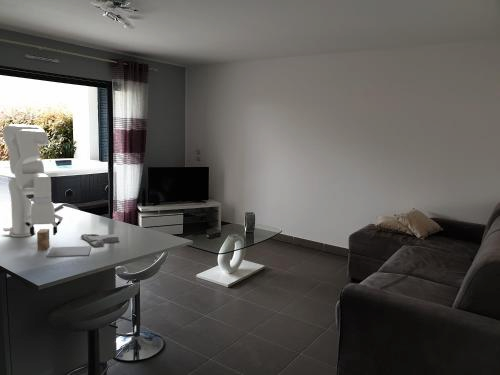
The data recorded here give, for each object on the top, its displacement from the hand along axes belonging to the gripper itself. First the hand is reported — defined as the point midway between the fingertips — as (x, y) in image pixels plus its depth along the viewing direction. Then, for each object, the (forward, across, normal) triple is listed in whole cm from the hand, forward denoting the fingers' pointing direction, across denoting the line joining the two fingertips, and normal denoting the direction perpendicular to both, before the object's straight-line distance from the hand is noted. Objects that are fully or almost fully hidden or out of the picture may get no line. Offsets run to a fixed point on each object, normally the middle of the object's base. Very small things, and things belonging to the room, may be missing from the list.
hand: (43, 234), depth 189 cm
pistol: (+8, +26, +12) cm, 29 cm away
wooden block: (+7, 0, +1) cm, 7 cm away
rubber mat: (+7, +12, -7) cm, 16 cm away
